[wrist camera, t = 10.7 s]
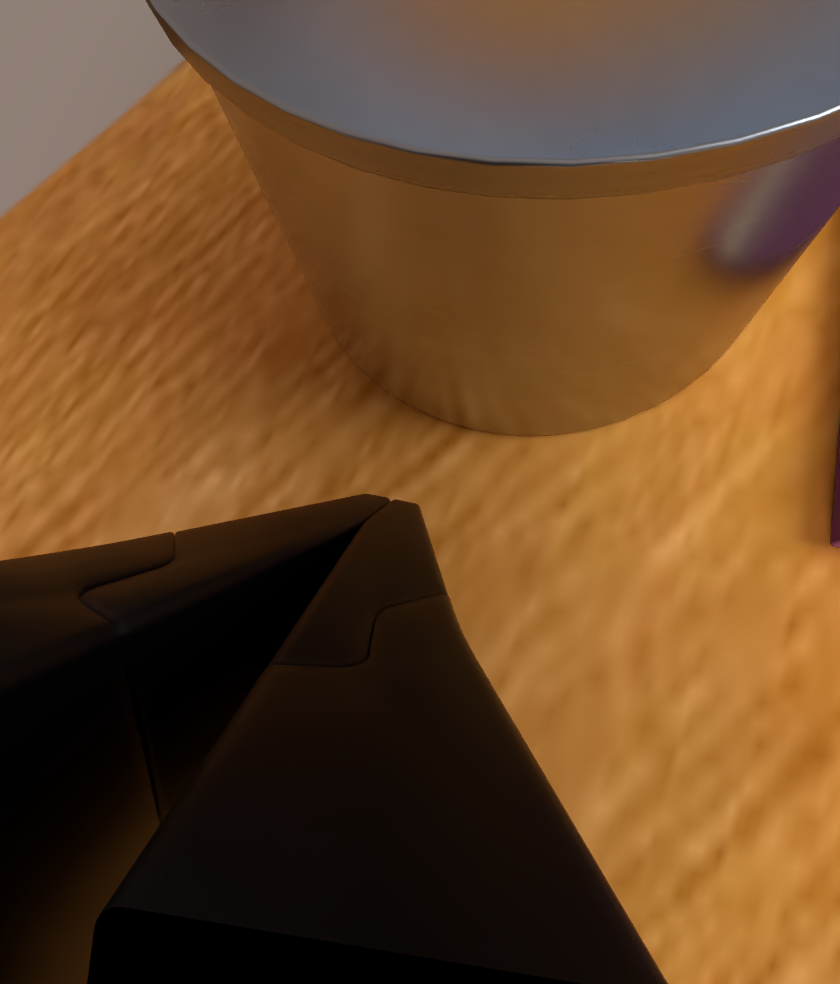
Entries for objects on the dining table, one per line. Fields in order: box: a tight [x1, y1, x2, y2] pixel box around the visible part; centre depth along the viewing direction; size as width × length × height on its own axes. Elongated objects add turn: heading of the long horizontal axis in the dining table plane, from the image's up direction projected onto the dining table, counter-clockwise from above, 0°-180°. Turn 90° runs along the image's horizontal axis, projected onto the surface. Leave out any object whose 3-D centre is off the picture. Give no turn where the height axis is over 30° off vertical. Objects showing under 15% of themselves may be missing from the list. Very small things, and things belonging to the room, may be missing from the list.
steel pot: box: [146, 0, 840, 436], centre depth 12 cm, size 14×16×11 cm
